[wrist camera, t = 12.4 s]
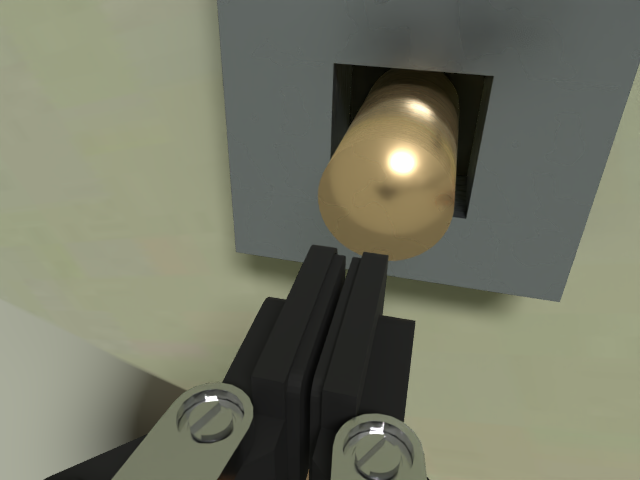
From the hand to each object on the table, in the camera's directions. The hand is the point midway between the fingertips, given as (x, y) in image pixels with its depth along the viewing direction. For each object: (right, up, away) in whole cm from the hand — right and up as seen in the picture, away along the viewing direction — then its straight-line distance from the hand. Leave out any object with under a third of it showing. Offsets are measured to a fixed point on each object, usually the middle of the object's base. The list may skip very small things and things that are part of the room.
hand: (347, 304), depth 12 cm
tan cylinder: (+3, +7, +11) cm, 14 cm away
